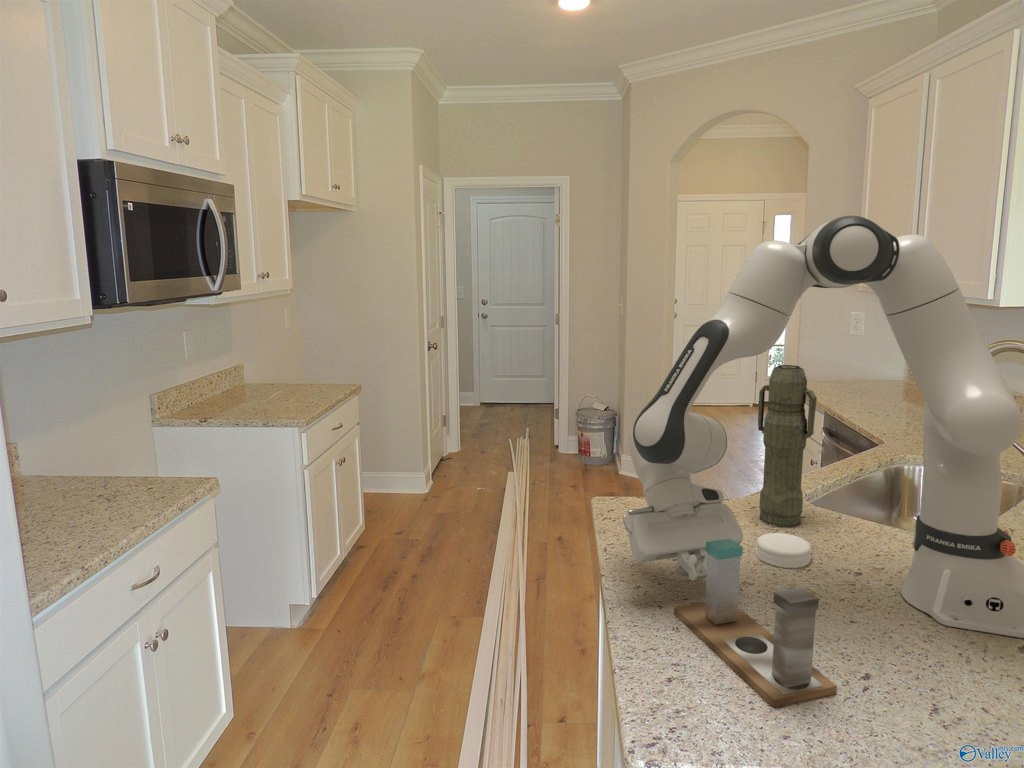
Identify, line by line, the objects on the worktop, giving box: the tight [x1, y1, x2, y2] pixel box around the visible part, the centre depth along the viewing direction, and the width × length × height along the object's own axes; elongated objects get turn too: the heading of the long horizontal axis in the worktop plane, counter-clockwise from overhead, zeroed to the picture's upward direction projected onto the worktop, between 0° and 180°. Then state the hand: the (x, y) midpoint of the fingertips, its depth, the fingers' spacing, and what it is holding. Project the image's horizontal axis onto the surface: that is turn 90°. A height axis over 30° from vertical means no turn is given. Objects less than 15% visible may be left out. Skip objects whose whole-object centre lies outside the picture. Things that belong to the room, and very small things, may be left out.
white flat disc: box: [755, 532, 812, 569], centre depth 137 cm, size 10×10×4 cm
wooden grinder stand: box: [673, 586, 838, 709], centre depth 104 cm, size 26×10×14 cm, turn 17°
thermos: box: [757, 364, 817, 528], centre depth 153 cm, size 9×12×35 cm
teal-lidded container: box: [704, 539, 744, 625], centre depth 111 cm, size 3×4×13 cm
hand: (700, 578), depth 117 cm, fingers closed
